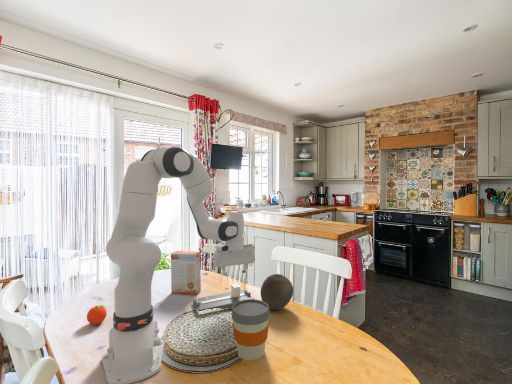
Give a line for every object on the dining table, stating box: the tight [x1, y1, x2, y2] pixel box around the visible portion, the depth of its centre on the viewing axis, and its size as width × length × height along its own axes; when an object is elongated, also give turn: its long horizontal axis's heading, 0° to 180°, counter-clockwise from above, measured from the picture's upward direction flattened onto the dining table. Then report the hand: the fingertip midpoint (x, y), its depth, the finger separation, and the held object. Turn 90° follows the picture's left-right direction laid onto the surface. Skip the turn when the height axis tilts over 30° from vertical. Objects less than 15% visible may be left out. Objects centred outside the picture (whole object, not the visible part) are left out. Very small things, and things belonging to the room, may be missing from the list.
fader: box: [230, 283, 241, 298], centre depth 126 cm, size 5×3×5 cm, turn 25°
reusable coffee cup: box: [231, 298, 270, 361], centre depth 88 cm, size 13×13×15 cm
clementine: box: [86, 304, 108, 326], centre depth 107 cm, size 8×7×7 cm
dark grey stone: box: [260, 273, 294, 311], centre depth 118 cm, size 14×14×15 cm
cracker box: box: [170, 250, 202, 296], centre depth 138 cm, size 14×6×21 cm, turn 78°
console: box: [192, 288, 255, 311], centre depth 124 cm, size 12×26×4 cm, turn 115°
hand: (234, 274), depth 126 cm, fingers open, 8 cm apart
